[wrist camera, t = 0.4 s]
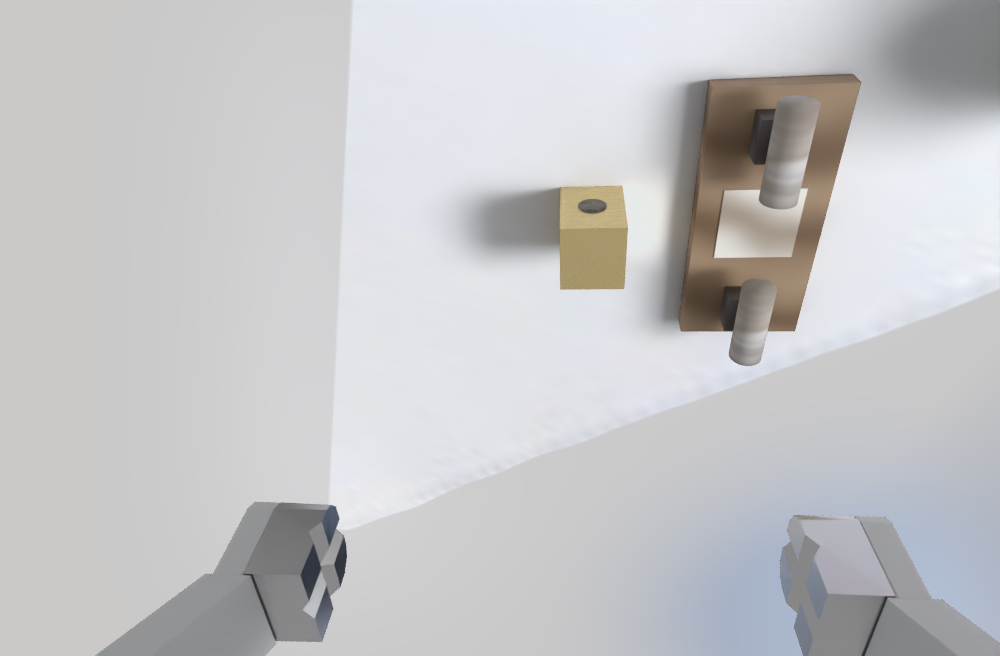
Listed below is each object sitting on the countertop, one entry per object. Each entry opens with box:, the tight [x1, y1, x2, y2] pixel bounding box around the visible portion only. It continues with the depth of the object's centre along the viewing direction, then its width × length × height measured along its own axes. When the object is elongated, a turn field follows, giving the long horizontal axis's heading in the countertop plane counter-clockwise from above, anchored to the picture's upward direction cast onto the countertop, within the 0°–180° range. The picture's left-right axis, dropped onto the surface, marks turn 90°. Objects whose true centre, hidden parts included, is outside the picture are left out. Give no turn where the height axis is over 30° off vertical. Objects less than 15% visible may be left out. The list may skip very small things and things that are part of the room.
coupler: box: [560, 186, 628, 289], centre depth 49 cm, size 5×4×6 cm
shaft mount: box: [679, 74, 861, 366], centre depth 48 cm, size 20×9×6 cm, turn 4°
